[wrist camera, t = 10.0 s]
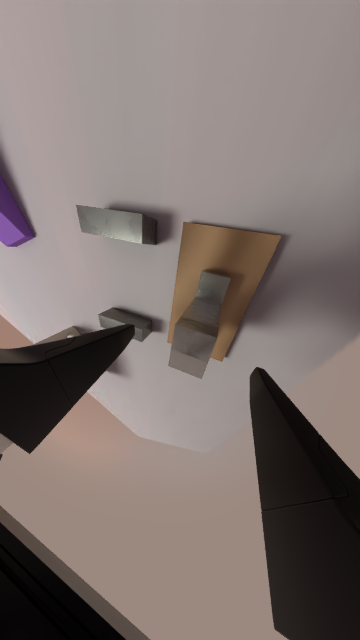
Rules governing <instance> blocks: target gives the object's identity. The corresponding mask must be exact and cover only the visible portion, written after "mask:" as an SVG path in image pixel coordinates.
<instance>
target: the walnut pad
mask: <svg viewBox="0 0 360 640" xmlns="http://www.w3.org/2000/svg"><path fill="white" fill-rule="evenodd" d="M280 238H281V236H279V235H271V234H264V233H257V232H250V231H243V230H236V229H229V228H222V227H215V226H208V225H201V224H194V223H187V222H184V223H183V231H182V238H181V246H180V253H179V260H178V268H177V275H176V283H175V290H174V297H173V305H172V312H171V320H170V327H169V334H168V343H171V344H172V341H173V335H174V329H175V324H176V323H177V321H178V320H179V319H180V317H181V316H182V315H183V313H184V312H185V310H186V309H187V308H188V306H189V305H190V304H191V302H192V301H193V300H194V298H195V296H196V292H197V287H198V283H199V279H200V274H201V271H203V270H207V271H211V272H216V273H220V274H225V275H229V276H231V280H230V282H229V285H228V288H227V291H226V294H225V296H224V299H223V302H222V306H221V314H220V322H219V331H218V338H217V341H216V343H215V346H214V348H213V351H212V354H211V356H210V358H213V359H216V360H219V361H223V359H224V357H225V354H226V352H227V350H228V348H229V346H230V344H231V342H232V340H233V338H234V335H235V333H236V331H237V329H238V327H239V325H240V323H241V321H242V319H243V316H244V314H245V312H246V310H247V308H248V306H249V304H250V302H251V300H252V297H253V295H254V293H255V291H256V289H257V287H258V285H259V283H260V281H261V278H262V276H263V274H264V272H265V270H266V268H267V266H268V264H269V262H270V259H271V257H272V255H273V253H274V251H275V249H276V247H277V245H278V243H279V240H280Z"/></svg>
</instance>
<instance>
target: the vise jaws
mask: <svg viewBox="0 0 360 640" xmlns="http://www.w3.org/2000/svg"><path fill="white" fill-rule="evenodd" d="M76 207H77V212H78V217H79V221H80V226H81V231H82V232H84V233H89V234H95V235H100V236H105V237H110V238H115V239H121V240H126V241H131V242H136V243H142V244H151V245H156V233H157V220H154V219H152V218H150V217H148V216H145V215H143V214H138V213H131V212H124V211H117V210H110V209H102V208H95V207H88V206H81V205H76ZM98 315H99V320H100V325H101V327H103V328H105V329H108V328H112V327H116V326H120V325H124V324H128V323H131V324H134V325H135V335H134V337H133V338H132V339H135V340H138V341H141V342H143V340H144V339H145V338H146V337H147V336H148V335H149V334H150V333H151V332H152V320H149V319H146V318H143V317H140V316H137V315H134V314H131V313H127V312H124V311H121V310H118V309H115V308H111V309H109V310H107V311H105V312H102V313H100V314H98Z"/></svg>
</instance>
